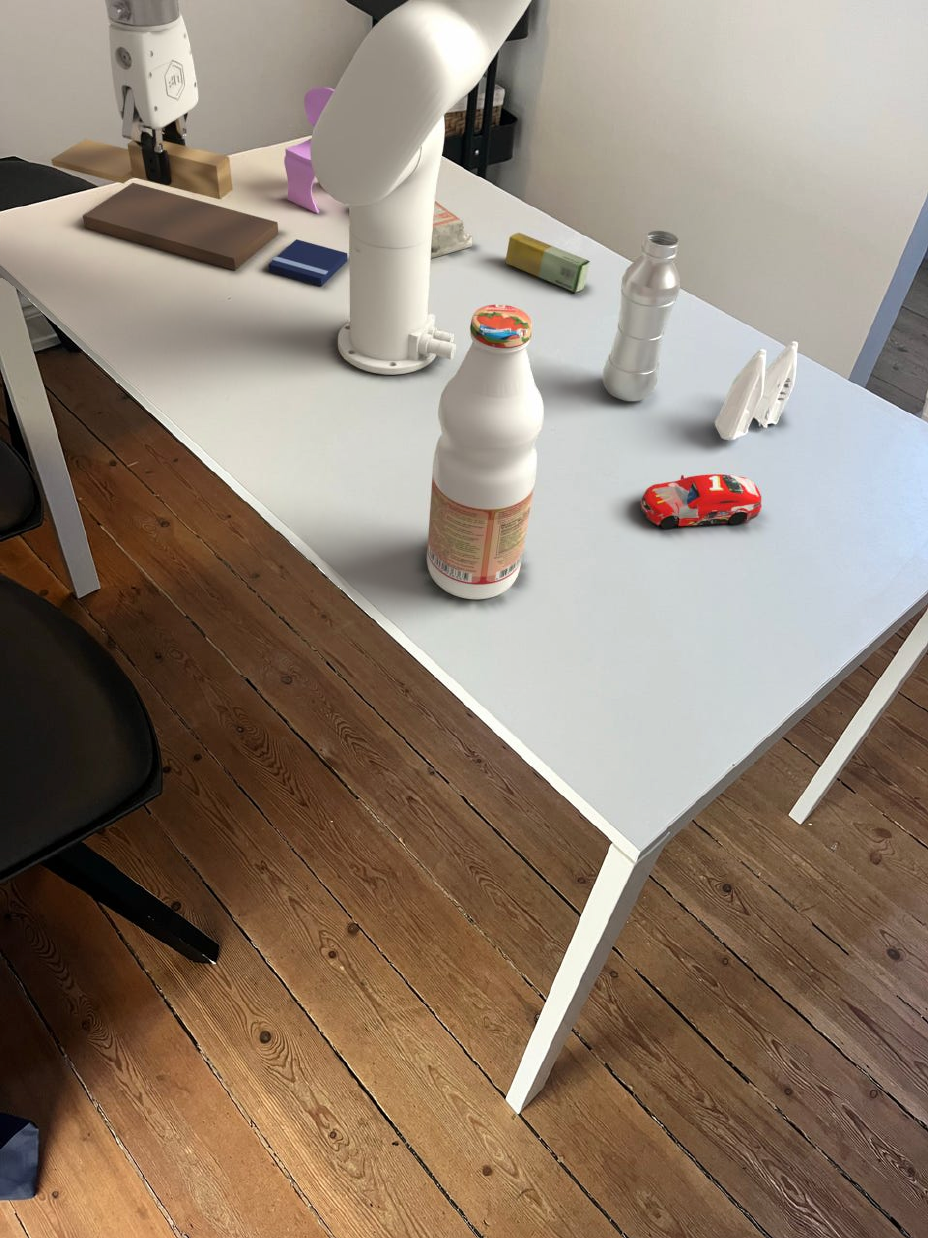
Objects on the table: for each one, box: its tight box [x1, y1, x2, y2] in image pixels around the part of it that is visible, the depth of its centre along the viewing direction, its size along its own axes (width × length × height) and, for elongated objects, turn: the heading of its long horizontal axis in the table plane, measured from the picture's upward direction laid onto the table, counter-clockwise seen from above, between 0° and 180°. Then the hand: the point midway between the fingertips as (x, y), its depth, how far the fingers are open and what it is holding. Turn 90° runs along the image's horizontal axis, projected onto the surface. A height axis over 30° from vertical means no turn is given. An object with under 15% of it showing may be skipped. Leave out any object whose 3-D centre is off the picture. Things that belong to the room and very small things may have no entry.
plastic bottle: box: [602, 229, 681, 402], centre depth 114 cm, size 6×7×20 cm
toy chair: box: [283, 86, 335, 214], centre depth 144 cm, size 8×9×15 cm
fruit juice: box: [426, 304, 545, 600], centre depth 88 cm, size 9×9×28 cm
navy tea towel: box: [267, 239, 348, 287], centre depth 135 cm, size 8×8×1 cm
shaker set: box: [714, 341, 799, 441], centre depth 114 cm, size 12×4×11 cm, turn 130°
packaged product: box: [431, 200, 473, 259], centre depth 143 cm, size 18×5×10 cm
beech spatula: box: [51, 138, 234, 200], centre depth 119 cm, size 22×7×4 cm, turn 69°
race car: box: [639, 473, 762, 530], centre depth 106 cm, size 13×5×4 cm, turn 98°
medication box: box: [504, 232, 591, 294], centre depth 137 cm, size 12×3×4 cm, turn 57°
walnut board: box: [82, 182, 279, 272], centre depth 139 cm, size 24×12×2 cm, turn 69°
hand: (167, 174), depth 119 cm, fingers closed on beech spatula, 3 cm apart
